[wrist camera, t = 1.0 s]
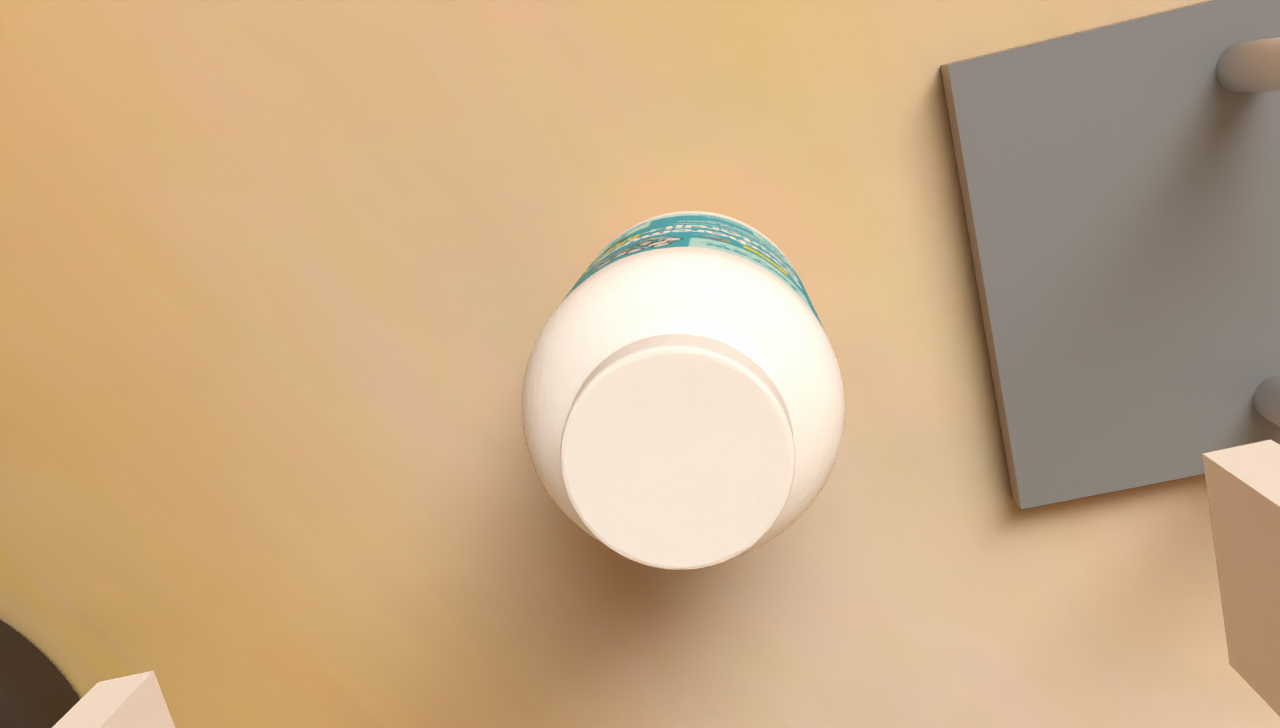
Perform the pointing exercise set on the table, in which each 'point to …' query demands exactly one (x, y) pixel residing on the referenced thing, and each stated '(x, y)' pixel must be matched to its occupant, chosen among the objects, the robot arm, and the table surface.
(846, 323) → the table surface
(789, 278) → the pill bottle
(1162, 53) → the grey peg board
